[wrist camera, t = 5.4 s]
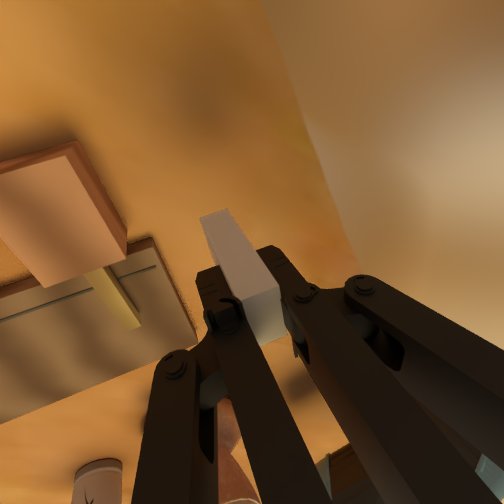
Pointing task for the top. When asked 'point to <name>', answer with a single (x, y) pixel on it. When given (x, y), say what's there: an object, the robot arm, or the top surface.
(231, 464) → the ceramic jug
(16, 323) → the board
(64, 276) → the brown wooden handled block
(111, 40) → the top surface
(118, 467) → the travel mug
